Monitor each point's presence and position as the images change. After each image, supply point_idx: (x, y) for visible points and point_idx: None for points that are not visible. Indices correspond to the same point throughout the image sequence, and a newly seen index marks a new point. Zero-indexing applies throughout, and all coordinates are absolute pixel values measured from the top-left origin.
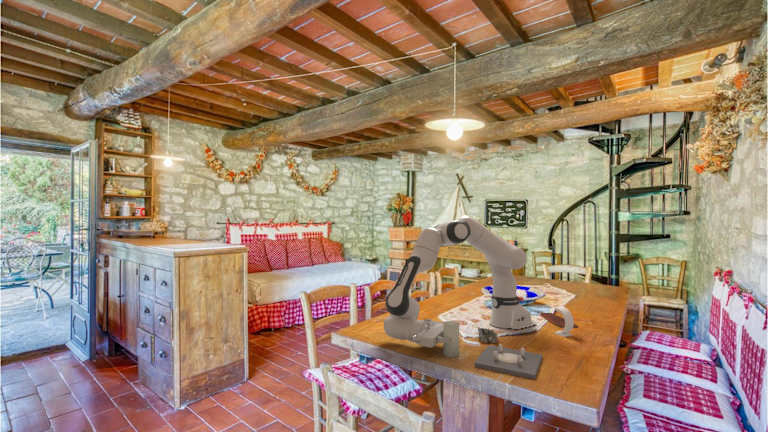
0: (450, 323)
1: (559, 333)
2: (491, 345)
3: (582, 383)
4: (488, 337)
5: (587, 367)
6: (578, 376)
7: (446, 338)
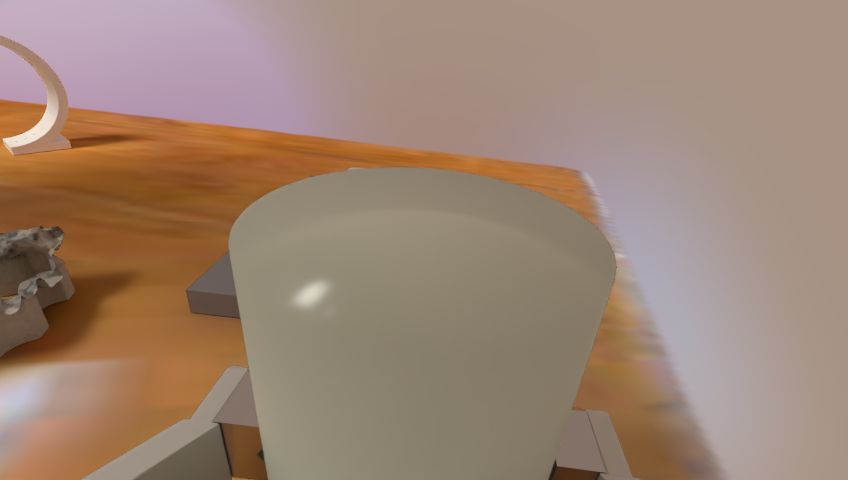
0: (434, 229)
1: (39, 144)
2: (201, 278)
3: (465, 165)
4: (38, 282)
5: (354, 152)
6: (425, 164)
7: (621, 451)
